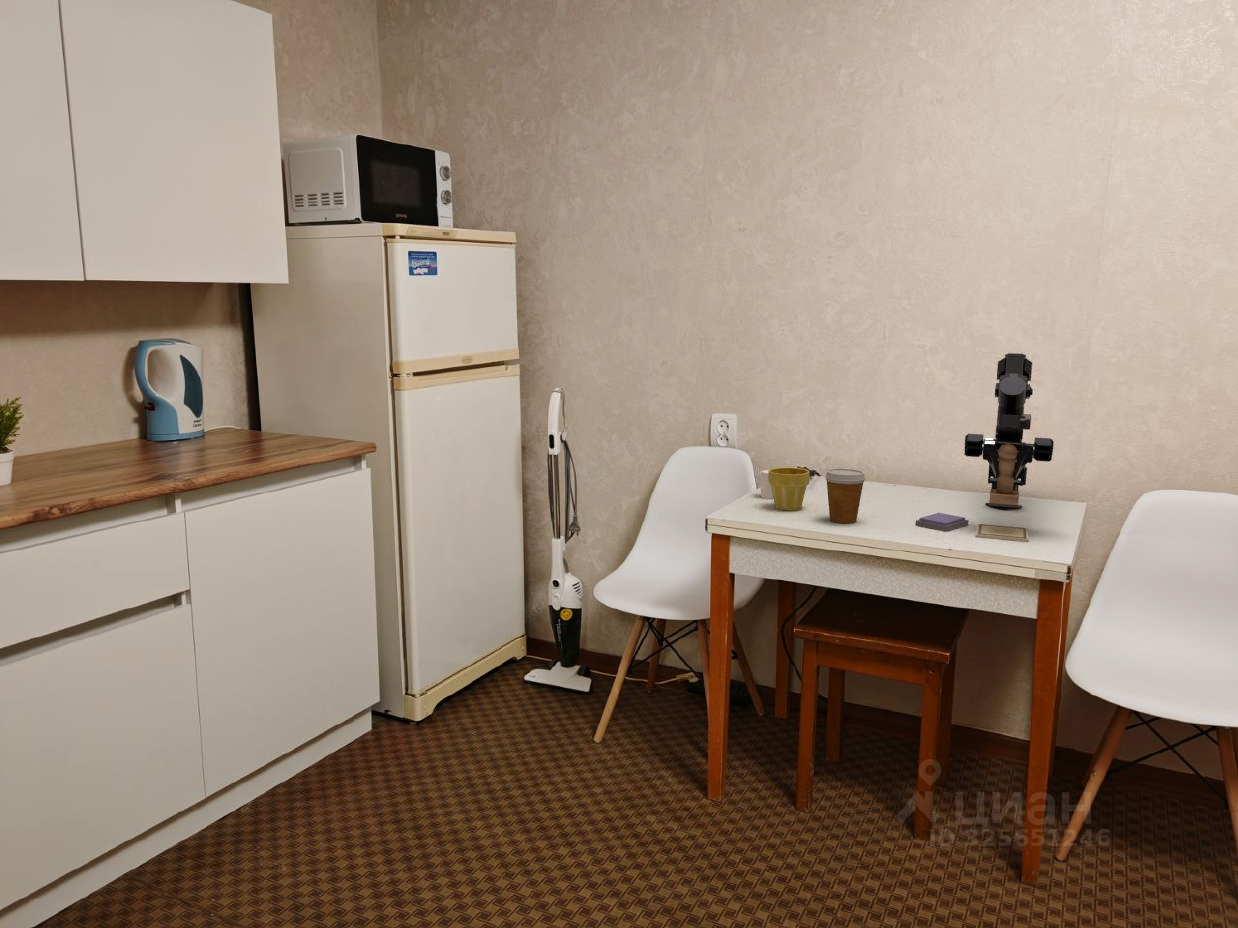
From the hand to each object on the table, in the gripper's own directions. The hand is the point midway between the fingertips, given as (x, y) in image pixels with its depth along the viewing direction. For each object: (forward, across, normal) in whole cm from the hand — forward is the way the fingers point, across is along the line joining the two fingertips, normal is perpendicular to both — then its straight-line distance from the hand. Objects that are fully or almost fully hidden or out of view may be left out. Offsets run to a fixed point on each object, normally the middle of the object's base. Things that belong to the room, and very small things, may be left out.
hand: (1005, 477), depth 211 cm
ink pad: (+6, -13, +13) cm, 19 cm away
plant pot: (+4, -51, +15) cm, 53 cm away
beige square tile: (+9, 0, +10) cm, 13 cm away
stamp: (+3, 0, +6) cm, 7 cm away
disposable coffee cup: (+10, -36, +9) cm, 38 cm away
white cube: (-4, -58, +24) cm, 63 cm away
